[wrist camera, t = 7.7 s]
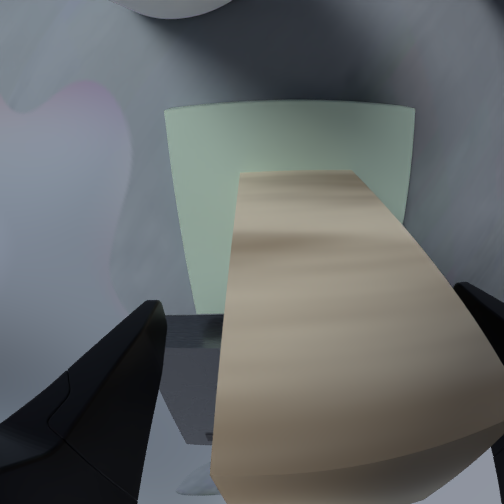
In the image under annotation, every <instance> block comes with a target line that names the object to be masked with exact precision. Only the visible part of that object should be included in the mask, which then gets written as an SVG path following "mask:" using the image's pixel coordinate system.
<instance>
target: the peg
mask: <svg viewBox="0 0 504 504" xmlns="http://www.w3.org/2000/svg"><path fill="white" fill-rule="evenodd" d="M503 434H504V366H503V364H502V362H501V361H500V359H499V357H498V356H497V354H496V352H495V351H494V349H493V347H492V346H491V344H490V343H489V341H488V339H487V338H486V336H485V335H484V333H483V332H482V330H481V328H480V327H479V325H478V324H477V322H476V321H475V319H474V318H473V316H472V315H471V313H470V312H469V311H468V309H467V308H466V306H465V305H464V303H463V302H462V301H461V299H460V298H459V296H458V295H457V294H456V292H455V291H454V289H453V288H452V287H451V285H450V284H449V283H448V281H447V280H446V279H445V277H444V276H443V275H442V273H441V272H440V271H439V269H438V268H437V267H436V265H435V264H434V263H433V262H432V260H431V259H430V258H429V257H428V255H427V254H426V253H425V252H424V250H423V249H422V248H421V247H420V245H419V244H418V243H417V242H416V241H415V239H414V238H413V237H412V236H411V235H410V233H409V232H408V231H407V230H406V229H405V228H404V226H403V225H402V224H401V223H400V222H399V221H398V219H397V218H396V217H395V216H394V215H393V214H392V213H391V212H390V210H389V209H388V208H387V207H386V206H385V205H384V204H383V203H382V202H381V200H380V199H379V198H378V197H377V196H376V195H375V194H374V193H373V192H372V191H371V190H370V189H369V188H368V187H367V185H366V184H365V183H364V182H363V181H362V180H361V179H360V178H359V177H358V176H357V175H356V174H355V173H354V172H353V171H352V170H291V171H263V172H244V173H240V177H239V185H238V194H237V202H236V210H235V219H234V228H233V236H232V245H231V254H230V263H229V272H228V282H227V291H226V301H225V310H224V320H223V330H222V340H221V351H220V361H219V372H218V383H217V394H216V405H215V417H214V429H213V441H212V455H211V467H210V476H211V478H212V479H213V481H214V483H215V485H216V486H217V488H218V490H219V491H220V493H221V495H222V496H223V498H224V500H225V501H226V503H227V504H411V503H414V502H418V501H421V500H424V499H425V498H427V497H428V496H429V495H431V494H432V493H434V492H435V491H437V490H438V489H440V488H441V487H442V486H444V485H445V484H446V483H448V482H449V481H450V480H452V479H453V478H454V477H456V476H457V475H458V474H459V473H461V472H462V471H463V470H464V469H466V468H467V467H468V466H469V465H470V464H471V463H473V462H474V461H475V460H476V459H477V458H478V457H480V456H481V455H482V454H483V453H484V452H485V451H486V450H488V449H489V448H490V447H491V446H492V445H493V444H494V443H495V442H496V441H497V440H498V439H499V438H500V437H501V436H502V435H503Z"/></svg>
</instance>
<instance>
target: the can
mask: <svg viewBox="0 0 504 504" xmlns="http://www.w3.org/2000/svg"><path fill="white" fill-rule="evenodd" d="M109 1H112V2H114V3H116V4H118V5H121V6H123V7H125V8H127V9H130V10H132V11H134V12H137V13H139V14H142V15H145V16H149V17H153V18H160V19H181V18H188V17H193V16H198V15H201V14H204V13H207V12H210V11H213V10H215V9H217V8H219V7H221V6H223V5H225V4H227V3H229V2H230V1H232V0H109Z"/></svg>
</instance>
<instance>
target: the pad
mask: <svg viewBox="0 0 504 504" xmlns="http://www.w3.org/2000/svg"><path fill="white" fill-rule="evenodd" d="M164 113H165V122H166V131H167V139H168V147H169V155H170V163H171V170H172V177H173V184H174V191H175V197H176V204H177V210H178V216H179V222H180V228H181V234H182V240H183V246H184V251H185V257H186V262H187V268H188V273H189V278H190V283H191V288H192V293H193V298H194V303H195V308H196V313H197V314H220V313H224V310H225V301H226V291H227V282H228V272H229V263H230V254H231V245H232V236H233V228H234V219H235V210H236V202H237V194H238V185H239V177H240V173H244V172H263V171H291V170H352V171H353V172H354V173H355V174H356V175H357V176H358V177H359V178H360V179H361V180H362V181H363V182H364V183H365V184H366V185H367V187H368V188H369V189H370V190H371V191H372V192H373V193H374V194H375V195H376V196H377V197H378V198H379V199H380V200H381V202H382V203H383V204H384V205H385V206H386V207H387V208H388V209H389V210H390V212H391V213H392V214H393V215H394V216H395V217H396V218H397V219H398V221H399V222H400V223H401V224H402V225H403V220H404V213H405V207H406V200H407V193H408V186H409V177H410V169H411V159H412V149H413V136H414V121H415V109H414V108H411V107H407V106H401V105H392V104H382V103H371V102H357V101H339V100H255V101H237V102H223V103H211V104H201V105H192V106H183V107H175V108H169V109H167V110H164Z"/></svg>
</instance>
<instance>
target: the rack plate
mask: <svg viewBox="0 0 504 504" xmlns="http://www.w3.org/2000/svg"><path fill="white" fill-rule="evenodd" d="M165 317H166V320H167V336H166V344H165V353H164V363H163V371H162V377H161V382H160V387H159V389H160V392H161V394H162V396H163V398H164V400H165V402H166V404H167V407H168V409H169V411H170V413H171V415H172V416H173V419H174V420H175V423H176V425H177V426H178V428H179V430H180V432H181V434H182V436H183V438H184V440H185V442H186V443H187V444H195V445H212V441H213V429H214V417H215V405H216V394H217V383H218V372H219V361H220V351H221V340H222V330H223V320H224V315H191V316H165Z"/></svg>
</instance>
